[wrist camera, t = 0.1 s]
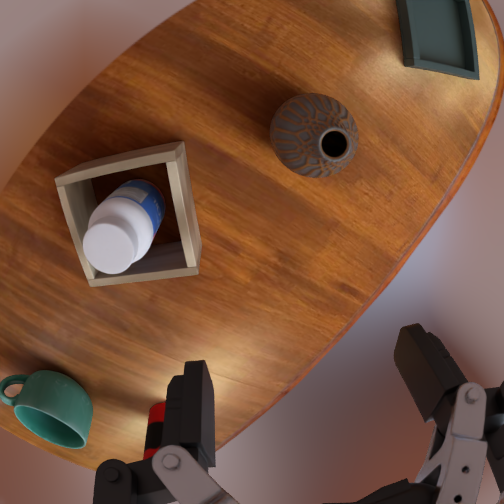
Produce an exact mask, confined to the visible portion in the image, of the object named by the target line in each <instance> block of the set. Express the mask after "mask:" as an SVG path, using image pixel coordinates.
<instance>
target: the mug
mask: <svg viewBox="0 0 504 504" xmlns="http://www.w3.org/2000/svg"><path fill="white" fill-rule="evenodd" d="M13 384H24V386H23V387H22V390H21V392H20V394H17V395H16V396H15V397H8V396H6V395H5V393H4V390H5V389H6V388H7V387H8V386H10V385H13ZM0 398H1V400H2V401H3V402H4V403H6V404H7V405H10V406H14V412H15V415H16V416H17V418H18V419H19V420H20V422H21V423H22V424H23V425H25V426H26V427H27V428H28V429H29V430H31V431H32V432H33V433H35V434H36V435H38V436H39V437H41V438H43V439H45V440H47V441H49V442H51V443H54V444H56V445H59V446H62V447H66V448H73V449H79V448H83V447H84V446H85V445H86V442H87V438H88V434H89V430H90V426H91V421H92V416H93V406H92V402H91V400H90V398H89V396H88V394H87V393H86V392H85V390H84V389H83V388H82V387H81V386H80V385H79V384H78V383H77V382H76V381H74V380H73V379H72V378H70V377H68V376H67V375H64V374H62V373H59V372H54V371H49V370H41V371H37V372H34V373H33V374H31V375H30V376H29V375H22V374H21V375H12V376H9V377H6V378H5V379H3V380H2V381H1V382H0Z"/></svg>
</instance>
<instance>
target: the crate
mask: <svg viewBox="0 0 504 504" xmlns="http://www.w3.org/2000/svg"><path fill="white" fill-rule="evenodd" d="M164 162H166V166H167V172H168V177H169V183H170V188H171V193H172V198H173V203H174V208H175V213H176V218H177V223H178V227H179V232H180V236H181V241H179V242H172V243H165V244H158V245H151V246H150V247H149V249H148V251H147V252H146V254H145V255H144V256H143V257H142V258H141V259H139V260H138V261H136V262H134V263H132V264H131V265H130V266H129V267H128V268H127V269H126V270H125V271H123V272H121V273H117V274H107V273H104V272H101V271H99V270H97V269H96V268H95V267H93V266H92V265H91V264H90V263H89V261H88V260H87V258H86V256H85V254H84V250H83V239H84V235H85V233H86V232H87V230H88V224H89V220H90V217H91V215H92V213H93V212H94V210H95V209H96V208H97V207H98V204H97V201H96V197H95V193H94V189H93V185H92V181H91V178H93V177H98V176H102V175H106V174H110V173H115V172H119V171H124V170H128V169H133V168H138V167H143V166H148V165H153V164H159V163H164ZM55 183H56V186H57V190H58V194H59V197H60V201H61V205H62V208H63V211H64V215H65V218H66V221H67V224H68V227H69V230H70V233H71V236H72V239H73V242H74V245H75V248H76V251H77V254H78V256H79V259H80V262H81V264H82V267H83V270H84V272H85V275H86V277H87V279H88V283H89V285H90V287H95V286H104V285H113V284H122V283H131V282H140V281H148V280H157V279H165V278H174V277H182V276H190V275H198V273H199V265H200V257H201V249H202V243H201V237H200V232H199V227H198V221H197V216H196V211H195V205H194V199H193V194H192V188H191V182H190V176H189V170H188V164H187V158H186V151H185V145H184V141H179V142H173V143H168V144H162V145H157V146H152V147H147V148H142V149H138V150H133V151H128V152H124V153H120V154H116V155H111V156H107V157H103V158H99V159H95V160H92V161H88V162H84V163H81V164H79V165H77V166H75V167H74V168H72V169H70V170H68V171H66V172H65V173H63V174H61V175H59V176H58V177H56V178H55Z"/></svg>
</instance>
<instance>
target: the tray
mask: <svg viewBox="0 0 504 504" xmlns="http://www.w3.org/2000/svg"><path fill="white" fill-rule="evenodd" d="M396 4H397V10H398V16H399V23H400V30H401V38H402V46H403V56H404V66H405V67H411V68H417V69H423V70H429V71H434V72H439V73H444V74H449V75H453V76H458V77H462V78H466V79H473V80H480V79H479V65H478V55H477V46H476V38H475V31H474V24H473V19H472V13H471V8H470V3H469V0H396Z"/></svg>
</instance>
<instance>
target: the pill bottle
mask: <svg viewBox="0 0 504 504" xmlns="http://www.w3.org/2000/svg"><path fill="white" fill-rule="evenodd" d="M165 209H166V204H165V199H164V196H163V194H162V192H161V191H160V190H159V188H158V187H157V186H156V185H154V184H153V183H151V182H149V181H147V180H143V179H133V180H129V181H127V182H125V183H124V184H122V185H121V186H120V187H118V188H117V189H116V190H115V191H114V192H113V193H112V194H110V195H109V196H108V197H107V198H106V199H105V200H104V201H103V202H102V203H101V204H100V205H99V206H98V207H97V208H96V209H95V210H94V212H93V213H92V215H91V217H90V220H89V224H88V230H87V232H86V233H85V235H84V239H83V250H84V254H85V256H86V258H87V260H88V261H89V263H90V264H91V265H92V266H93V267H95V268H96V269H97V270H99V271H101V272H104V273H107V274H117V273H121V272H123V271H125V270H126V269H127V268H128V267H129V266H130V265H131V264H132V263H134V262H136V261H138V260H139V259H141V258H142V257H143V256H144V255H145V254H146V252H147V251H148V249H149V247H150V245H151V243H152V241H153V239H154V237H155V234H156V232H157V230H158V228H159V226H160V224H161V222H162V220H163V217H164V214H165Z"/></svg>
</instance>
